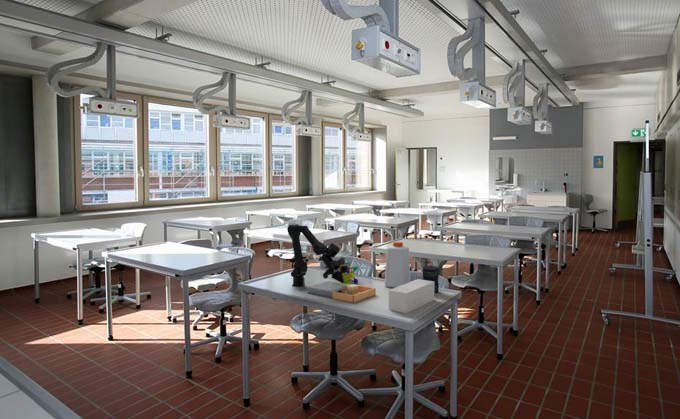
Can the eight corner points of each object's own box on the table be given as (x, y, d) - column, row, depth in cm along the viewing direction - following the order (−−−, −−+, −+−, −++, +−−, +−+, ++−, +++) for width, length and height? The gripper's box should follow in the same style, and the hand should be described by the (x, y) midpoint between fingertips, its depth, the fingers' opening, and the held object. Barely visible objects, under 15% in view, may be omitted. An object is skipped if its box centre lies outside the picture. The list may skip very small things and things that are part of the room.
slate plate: (307, 292, 282) (307, 286, 282) (328, 286, 298) (328, 280, 298) (333, 298, 270) (333, 292, 270) (353, 291, 286) (353, 285, 285)
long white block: (417, 297, 273) (417, 278, 272) (434, 300, 266) (434, 281, 265) (388, 309, 248) (388, 290, 247) (406, 313, 241) (406, 293, 240)
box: (332, 298, 269) (332, 291, 269) (355, 290, 286) (355, 284, 286) (353, 303, 260) (353, 296, 259) (375, 294, 277) (375, 288, 277)
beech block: (341, 285, 274) (352, 287, 270) (347, 283, 279) (358, 285, 274) (341, 295, 275) (352, 297, 270) (347, 293, 280) (358, 295, 275)
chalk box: (332, 277, 323) (332, 256, 321) (343, 276, 327) (343, 255, 326) (338, 280, 315) (338, 258, 313) (350, 278, 319) (350, 257, 318)
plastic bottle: (412, 284, 303) (412, 241, 301) (405, 289, 290) (406, 244, 287) (390, 281, 310) (390, 240, 307) (382, 286, 296) (382, 243, 294)
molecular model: (346, 286, 298) (346, 268, 297) (338, 284, 303) (339, 266, 303) (359, 283, 305) (359, 266, 305) (352, 281, 311) (352, 264, 310)
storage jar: (438, 294, 278) (439, 269, 277) (422, 293, 280) (422, 268, 279) (438, 289, 288) (438, 266, 287) (422, 289, 290) (422, 265, 289)
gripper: (326, 256, 272) (341, 277, 266) (346, 251, 286) (360, 272, 281) (316, 267, 277) (330, 289, 271) (336, 263, 292) (350, 283, 286)
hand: (343, 282), depth 277 cm, fingers closed
